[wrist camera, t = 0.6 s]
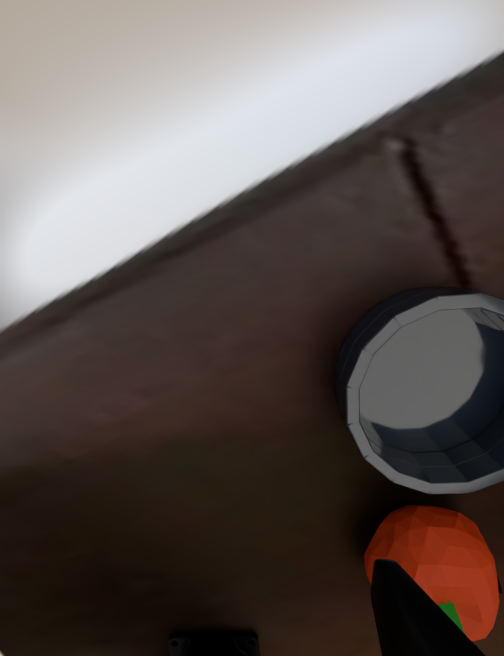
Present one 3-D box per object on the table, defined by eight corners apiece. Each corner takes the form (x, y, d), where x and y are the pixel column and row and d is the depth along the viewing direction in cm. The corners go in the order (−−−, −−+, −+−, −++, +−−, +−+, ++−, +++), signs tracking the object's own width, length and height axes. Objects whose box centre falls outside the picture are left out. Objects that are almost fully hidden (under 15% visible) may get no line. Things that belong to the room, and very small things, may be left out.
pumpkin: (449, 466, 22) (520, 553, 16) (481, 567, 24) (558, 682, 17) (339, 500, 23) (366, 594, 17) (377, 594, 25) (414, 713, 18)
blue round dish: (510, 452, 22) (555, 491, 18) (336, 459, 22) (347, 497, 19) (526, 279, 20) (580, 286, 16) (331, 293, 20) (344, 302, 17)
